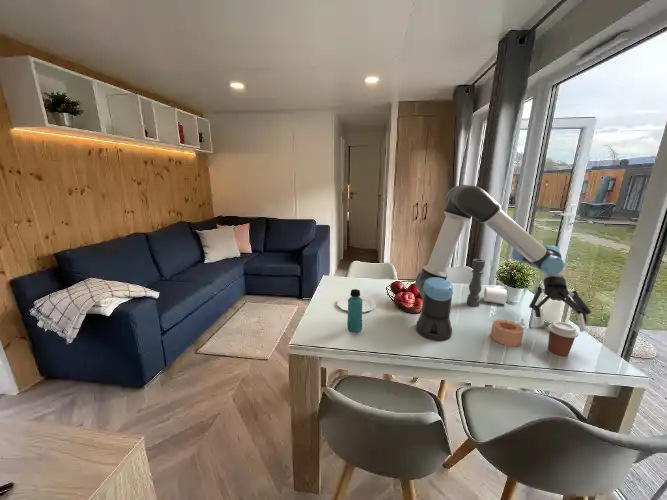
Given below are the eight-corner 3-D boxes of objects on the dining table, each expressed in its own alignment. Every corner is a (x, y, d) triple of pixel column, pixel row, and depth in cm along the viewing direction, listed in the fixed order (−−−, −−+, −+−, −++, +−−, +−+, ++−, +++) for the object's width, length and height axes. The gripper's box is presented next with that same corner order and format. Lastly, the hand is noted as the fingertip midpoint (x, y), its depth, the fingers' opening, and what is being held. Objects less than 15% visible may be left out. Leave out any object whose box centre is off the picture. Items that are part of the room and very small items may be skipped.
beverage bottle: (364, 332, 123) (366, 290, 118) (354, 338, 118) (356, 294, 114) (353, 327, 128) (355, 286, 123) (343, 332, 123) (344, 290, 118)
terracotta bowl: (509, 348, 112) (512, 335, 111) (485, 335, 122) (487, 322, 120) (527, 342, 116) (529, 329, 115) (502, 329, 126) (504, 317, 125)
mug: (505, 306, 150) (508, 292, 148) (484, 303, 153) (486, 290, 151) (501, 298, 161) (503, 285, 159) (482, 295, 164) (484, 282, 162)
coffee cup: (572, 363, 103) (579, 334, 100) (542, 353, 109) (548, 326, 106) (572, 352, 110) (579, 325, 107) (544, 343, 116) (550, 317, 113)
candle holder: (479, 303, 153) (485, 259, 147) (479, 307, 148) (485, 262, 142) (466, 301, 156) (472, 258, 150) (466, 305, 151) (472, 260, 145)
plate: (378, 315, 140) (378, 312, 139) (336, 314, 140) (336, 311, 140) (373, 298, 160) (373, 295, 159) (336, 297, 160) (336, 294, 160)
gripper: (584, 286, 120) (595, 335, 110) (517, 279, 127) (522, 325, 117) (594, 278, 113) (606, 330, 103) (523, 272, 121) (528, 320, 111)
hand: (562, 328), depth 110 cm, fingers open, 13 cm apart
